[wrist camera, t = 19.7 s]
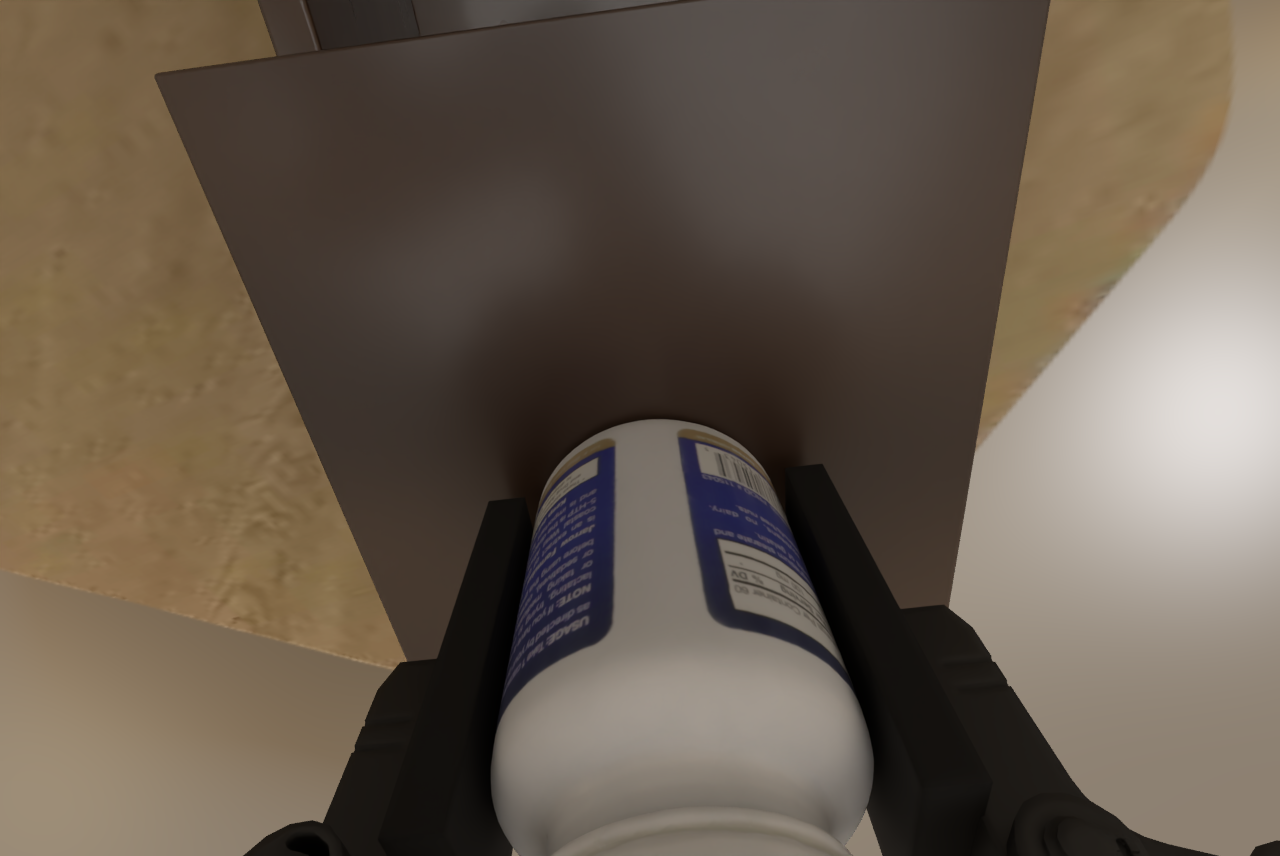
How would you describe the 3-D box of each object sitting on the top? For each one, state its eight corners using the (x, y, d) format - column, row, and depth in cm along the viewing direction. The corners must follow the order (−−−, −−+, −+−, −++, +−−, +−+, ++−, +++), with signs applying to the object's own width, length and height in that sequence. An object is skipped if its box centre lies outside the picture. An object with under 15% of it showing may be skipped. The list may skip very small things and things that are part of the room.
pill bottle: (570, 617, 15) (514, 1170, 7) (510, 435, 13) (332, 981, 5) (785, 584, 15) (963, 1130, 7) (767, 391, 12) (1011, 904, 5)
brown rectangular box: (375, 81, 18) (150, 73, 10) (847, 16, 18) (1061, -54, 9) (492, 494, 25) (424, 703, 17) (831, 455, 25) (942, 650, 16)
